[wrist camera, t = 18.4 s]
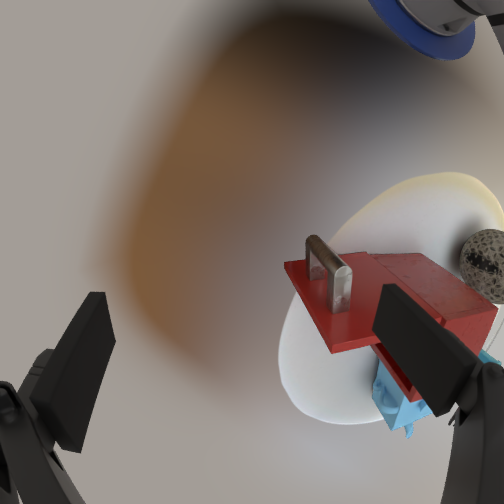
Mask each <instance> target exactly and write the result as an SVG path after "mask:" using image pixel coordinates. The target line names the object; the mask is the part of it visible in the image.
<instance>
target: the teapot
mask: <svg viewBox="0 0 504 504" xmlns="http://www.w3.org/2000/svg"><path fill="white" fill-rule="evenodd" d="M379 361H380V362H379V367H378V372H377V377H376V379H375V381H374V383H373V389H374V391H373V395H372V398H373V400H374V402H375V403H376V405H377V407H378V409H379V410H380V412H381V414H382V416H383V417H384V419H385V421H386V423H387V424H388V426H389V428H390V430H392V431H393V430H395V429H398V428H400V427H403V426H404V427H405V430H406V438H409V437H410V436H411V435H412V433H413V422H414V421H417V420H419V419H421V418H423V417H425V416H427V415H429V414H432V413H433V412H432V411H431V409H430V408H429V407H428V405H427V404H426V402H425V401H424V400H423V399H421V400H418V401H415V402H412V403H410V402H409V401H408V399H407V398H406V396H405V395H404V393H403V392H402V390H401V389H400V387H399V386H398V385H397V383H396V382H395V380H394V379H393V377H392V376H391V374H390V373H389V372H388V370H387V369H386V367H385V366H384V364H383V363H382V361H381V360H380V359H379Z"/></svg>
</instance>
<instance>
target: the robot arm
mask: <svg viewBox="0 0 504 504" xmlns="http://www.w3.org/2000/svg"><path fill="white" fill-rule="evenodd" d="M395 2H396V3H397V5H398V6H399V7H400V8H401V10H402V11H403V12H404V13H405V14H406V15H407V16H408V17H409V18H410V19H411V20H412V21H413V22H414V23H415V24H417V25H418V26H419V27H421V28H422V29H424V30H425V31H427V32H429V33H431V34H434V35H437V36H441V37H448V36H452V35H456V34H458V33H460V32H462V31H463V30H464V29H465V28H466V27H467V26H469V25H470V24H471V23H472V22H473V21H474V20H475V19H476V18H478V17H479V16H482V15H486V17H487V19H488V20H489V22H490V24H491V27H492V29H493V31H494V33H495V35H496V37H497V40H498V42H499V44H500V46H501V49H502V51H503V54H504V0H395ZM372 331H373V332H374V334H375V335H376V336H377V338H378V339H379V340H380V342H381V343H382V344H383V345H384V347H385V348H386V349H387V351H388V352H389V353H390V355H391V356H392V357H393V359H394V360H395V361H396V363H397V364H398V365H399V367H400V368H401V369H402V371H403V372H404V373H405V375H406V376H407V378H408V379H409V380H410V382H411V383H412V384H413V386H414V387H415V389H416V390H417V391H418V393H419V394H420V395H421V397H422V398H423V400H424V401H425V402H426V404H427V405H428V407H429V408H430V409H431V411H432V412H433V414H434V415H435V416H436V417H439V416H441V415H443V414H446V413H448V412H449V411H450V409H451V408H452V407H453V405H454V403H455V402H456V403H457V404H458V406H459V407H458V409H457V410H456V412H455V413H454V415H453V417H452V418H451V419H450V421H449V423H448V425H451V423H452V422H453V421H454V420H455V424H454V425H453V426H454V434H453V442H452V449H451V456H450V461H449V467H448V472H447V477H446V482H445V487H444V491H443V496H442V500H441V504H504V369H503V367H502V366H500V365H499V364H497V363H494V362H487V363H483V362H482V361H481V360H480V359H479V358H478V357H477V356H476V355H475V354H474V353H473V352H472V351H471V350H470V349H469V348H468V347H467V346H465V344H464V343H463V342H462V341H460V339H459V338H458V337H457V336H456V335H455V334H454V333H453V332H451V331H449V330H448V329H446V328H443V327H442V326H441V325H440V324H439V323H438V322H437V321H436V320H435V319H434V318H433V317H432V316H431V315H430V314H428V313H427V312H426V311H425V310H424V309H423V308H422V307H421V306H420V305H419V304H418V303H417V302H416V301H414V300H413V299H412V298H411V297H410V296H409V295H408V294H407V293H406V292H404V291H403V290H402V289H401V288H400V287H399V286H398V285H397V284H396V283H391V284H383V286H382V291H381V295H380V299H379V303H378V307H377V311H376V315H375V319H374V322H373V326H372ZM115 342H116V340H115V337H114V332H113V328H112V323H111V319H110V314H109V310H108V305H107V300H106V295H105V292H90V293H89V294H88V296H87V297H86V299H85V300H84V302H83V303H82V305H81V307H80V308H79V309H78V311H77V313H76V314H75V316H74V318H73V319H72V321H71V322H70V324H69V326H68V327H67V329H66V331H65V332H64V334H63V336H62V338H61V339H60V341H59V342H58V344H57V346H56V348H55V349H46V350H44V351H43V352H42V353H41V354H40V355H39V356H38V357H37V358H36V360H35V362H34V363H33V367H31V369H30V370H29V372H28V374H27V376H26V377H25V379H24V381H23V383H22V385H21V387H20V388H19V390H18V392H17V393H16V391H15V389H14V387H13V386H12V384H10V383H8V382H5V381H0V504H19V499H18V494H17V491H18V493H19V495H20V498H21V500H22V502H23V504H86V503H85V502H84V500H83V499H82V497H81V496H80V494H79V492H78V491H77V489H76V487H75V486H74V484H73V483H72V481H71V479H70V477H69V476H68V474H67V472H66V470H65V469H64V467H63V465H62V463H61V461H60V459H59V457H58V455H57V454H56V452H55V451H54V449H53V447H54V444H55V441H56V442H57V443H58V444H59V446H60V447H61V449H63V450H67V451H71V452H76V453H81V450H82V447H83V443H84V439H85V435H86V432H87V428H88V425H89V421H90V418H91V414H92V411H93V408H94V404H95V401H96V398H97V395H98V392H99V389H100V385H101V383H102V379H103V377H104V374H105V371H106V368H107V365H108V362H109V359H110V356H111V353H112V351H113V348H114V345H115Z"/></svg>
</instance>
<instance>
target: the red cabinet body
mask: <svg viewBox="0 0 504 504" xmlns="http://www.w3.org/2000/svg"><path fill="white" fill-rule="evenodd" d="M370 256H372V257H373V258H374V259H375V260H377V261H378V262H379V263H380V264H381V265H383V266H384V267H385V268H386V269H387V270H389V271H390V272H391V273H392V274H393V275H395V276H396V277H397V278H398V279H399V280H400V281H402V282H403V283H404V284H405V285H406V286H407V287H409V288H410V289H411V290H412V291H413V292H414V293H416V294H417V295H418V296H419V297H420V298H421V299H422V300H424V301H425V302H426V303H427V304H428V305H429V306H430V307H431V308H432V309H434V310H435V311H436V312H437V313H438V314H439V315H440V316H441V317H442V318H441V322H440V325H441V326H442V327H443V328H446V329H448V330H449V331H451V332H453V333H454V334H455V335H456V336H457V337H458V338H459V339H460V341H462V342H463V343H464V344H465V346H467V347H468V348H469V349H470V350H471V351H472V352H473V353H474V354H475V355H476V356H477V357H478V355H479V353H480V351H481V349H482V347H483V344H484V342H485V340H486V338H487V336H488V333H489V331H490V329H491V326H492V324H493V322H494V319H495V317H496V314H497V312H498V309H499V308H497V307H496V306H495V305H493V304H492V303H491V302H489V301H488V300H487V299H486V298H484V297H483V296H481V295H480V294H479V293H477V292H476V291H475V290H473V289H472V288H471V287H469V286H468V285H466V284H465V283H464V282H462V281H461V280H459V279H458V278H457V277H455V276H454V275H452V274H451V273H449V272H448V271H446V270H445V269H444V268H442V267H441V266H439V265H438V264H436V263H435V262H433V261H432V260H430V259H429V258H427V257H426V256H424V255H423V254H421V253H419V254H373V255H370ZM370 346H371V347H372V349H373V350H374V352H375V353H376V354H377V356H378V357H379V359H380V360H381V361H382V363H383V364H384V366H385V367H386V369H387V370H388V372H389V373H390V374H391V376H392V377H393V379H394V380H395V382H396V383H397V385H398V386H399V387H400V389H401V390H402V392H403V393H404V395H405V396H406V398H407V399H408V401H409V402H410V403H412V402H415V401H418V400H421V399H423V398H422V397H421V395H420V394H419V393H418V391H417V390H416V389H415V387H414V386H413V384H412V383H411V382H410V380H409V379H408V378H407V376H406V375H405V373H404V372H403V371H402V369H401V368H400V367H399V365H398V364H397V363H396V361H395V360H394V359H393V357H392V356H391V355H390V353H389V352H388V351H387V349H386V348H385V347H384V345H383V344H382V343H381V342H380V343H376V344H372V345H370Z"/></svg>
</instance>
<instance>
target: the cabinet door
mask: <svg viewBox="0 0 504 504" xmlns="http://www.w3.org/2000/svg"><path fill="white" fill-rule="evenodd" d="M284 269H285V270H286V272H287V274H288V276H289V278H290V279H291V281H292V283H293V285H294V287H295V288H296V290H297V292H298V294H299V296H300V297H301V299H302V301H303V303H304V305H305V306H306V308H307V310H308V312H309V314H310V316H311V317H312V319H313V321H314V323H315V325H316V327H317V328H318V330H319V332H320V334H321V336H322V338H323V339H324V341H325V343H326V345H327V347H328V349H329V350H330V352H331V354H333V353H338V352H342V351H347V350H351V349H356V348H360V347H364V346H368V345H372V344H376V343H380V340H379V339H378V338H377V336H376V335H375V334H374V332H373V331H372V326H373V322H374V319H375V315H376V311H377V307H378V303H379V299H380V295H381V291H382V286H383V284H391V283H396V284H397V285H398V286H399V287H400V288H401V289H402V290H403V291H404V292H406V293H407V294H408V295H409V296H410V297H411V298H412V299H413V300H414V301H416V302H417V303H418V304H419V305H420V306H421V307H422V308H423V309H424V310H425V311H426V312H427V313H428V314H430V315H431V316H432V317H433V318H434V319H435V320H436V321H437V322H438V323H439V324H440V322H441V318H442V317H441V316H440V315H439V314H438V313H437V312H436V311H435V310H434V309H432V308H431V307H430V306H429V305H428V304H427V303H426V302H425V301H424V300H422V299H421V298H420V297H419V296H418V295H417V294H416V293H414V292H413V291H412V290H411V289H410V288H409V287H407V286H406V285H405V284H404V283H403V282H402V281H400V280H399V279H398V278H397V277H396V276H395V275H393V274H392V273H391V272H390V271H389V270H387V269H386V268H385V267H384V266H383V265H381V264H380V263H379V262H378V261H377V260H375V259H374V258H373V257H372V256H370V255H369V254H368V253H367V252H360V253H352V254H344V255H337V254H336V253H335V252H334V251H333V250H332V249H331V248H330V247H329V246H328V245H327V244H326V243H325V242H324V241H322V240H321V239H320V238H319V237H318V236H317V235H310V236H309V237H308V238H307V239H306V259H305V260H297V261H288V262H284Z"/></svg>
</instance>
